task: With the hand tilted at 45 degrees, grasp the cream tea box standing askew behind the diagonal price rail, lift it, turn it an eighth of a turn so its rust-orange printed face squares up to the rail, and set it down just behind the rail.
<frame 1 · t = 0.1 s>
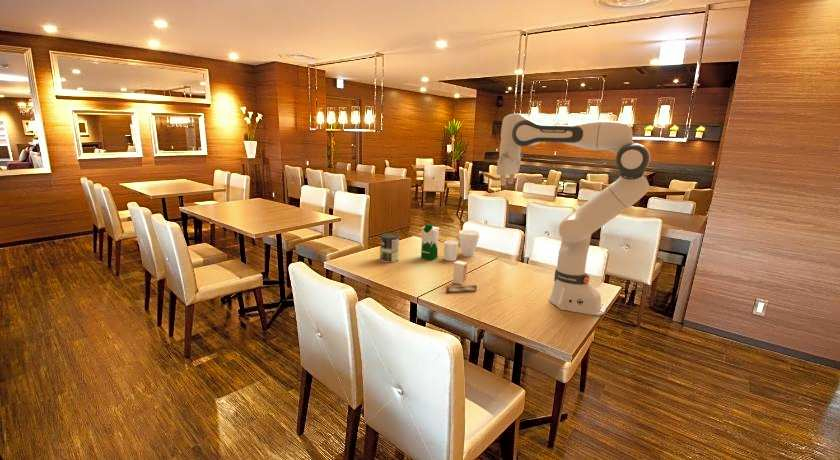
hand: (506, 184, 170), 48 cm above the table, tool pointing down, fingers open, 8 cm apart
white cup: (450, 259, 219), on the table
cup: (467, 254, 230), on the table
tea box: (459, 282, 184), on the table
coffee can: (389, 260, 215), on the table
milk carton: (429, 258, 221), on the table
price rail: (461, 291, 174), on the table
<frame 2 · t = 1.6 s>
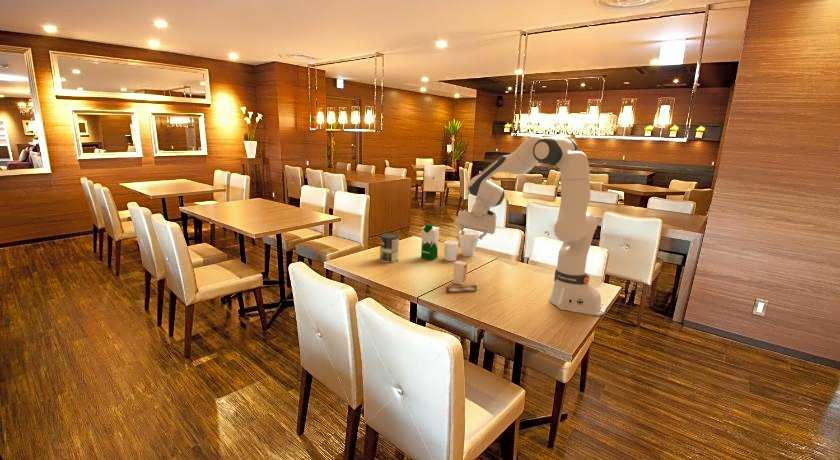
hand: (471, 236, 189), 20 cm above the table, tool tilted 45°, fingers open, 8 cm apart
nothing on the table moved.
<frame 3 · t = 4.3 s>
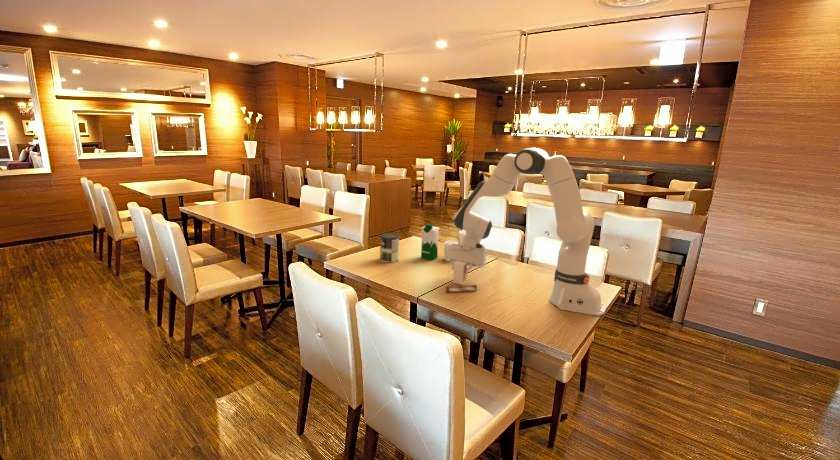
hand: (459, 271, 183), 6 cm above the table, tool tilted 45°, fingers closed on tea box, 5 cm apart
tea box: (459, 282, 184), on the table, touching gripper
everything else where it was.
when the fingers open (7 cm above the table, at t = 10.7 s): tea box drops 1 cm, on the table.
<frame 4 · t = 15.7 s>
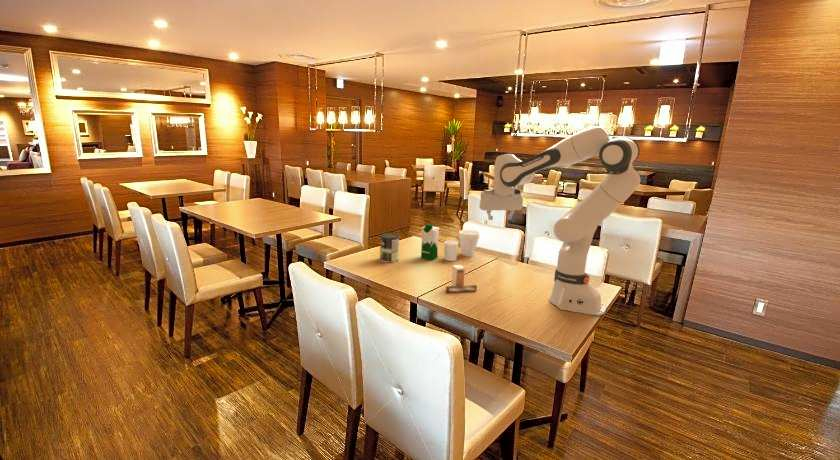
hand: (499, 219, 179), 31 cm above the table, tool pointing down, fingers open, 8 cm apart
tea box: (457, 287, 178), on the table
everything else where it was.
at the end: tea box inside the target area (0.0 cm from its centre), on the table; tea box tilted 0°; the gripper is holding nothing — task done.
